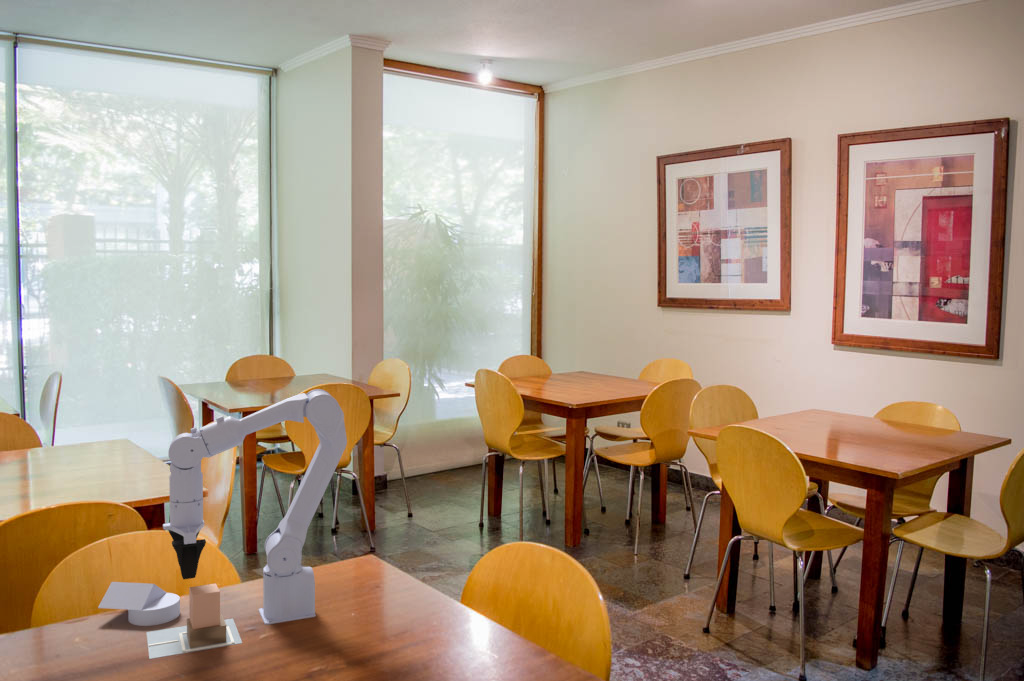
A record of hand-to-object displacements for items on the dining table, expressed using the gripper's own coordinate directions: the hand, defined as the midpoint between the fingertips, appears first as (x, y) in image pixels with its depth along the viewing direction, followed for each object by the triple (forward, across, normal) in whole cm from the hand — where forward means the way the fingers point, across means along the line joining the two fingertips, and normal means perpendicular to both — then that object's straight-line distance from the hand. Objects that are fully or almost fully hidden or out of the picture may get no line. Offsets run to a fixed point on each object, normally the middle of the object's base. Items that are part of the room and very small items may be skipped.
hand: (187, 571), depth 150 cm
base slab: (+10, +8, +2) cm, 13 cm away
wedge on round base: (+11, -8, -7) cm, 15 cm away
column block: (+7, +8, +2) cm, 11 cm away
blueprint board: (+10, +6, 0) cm, 12 cm away
